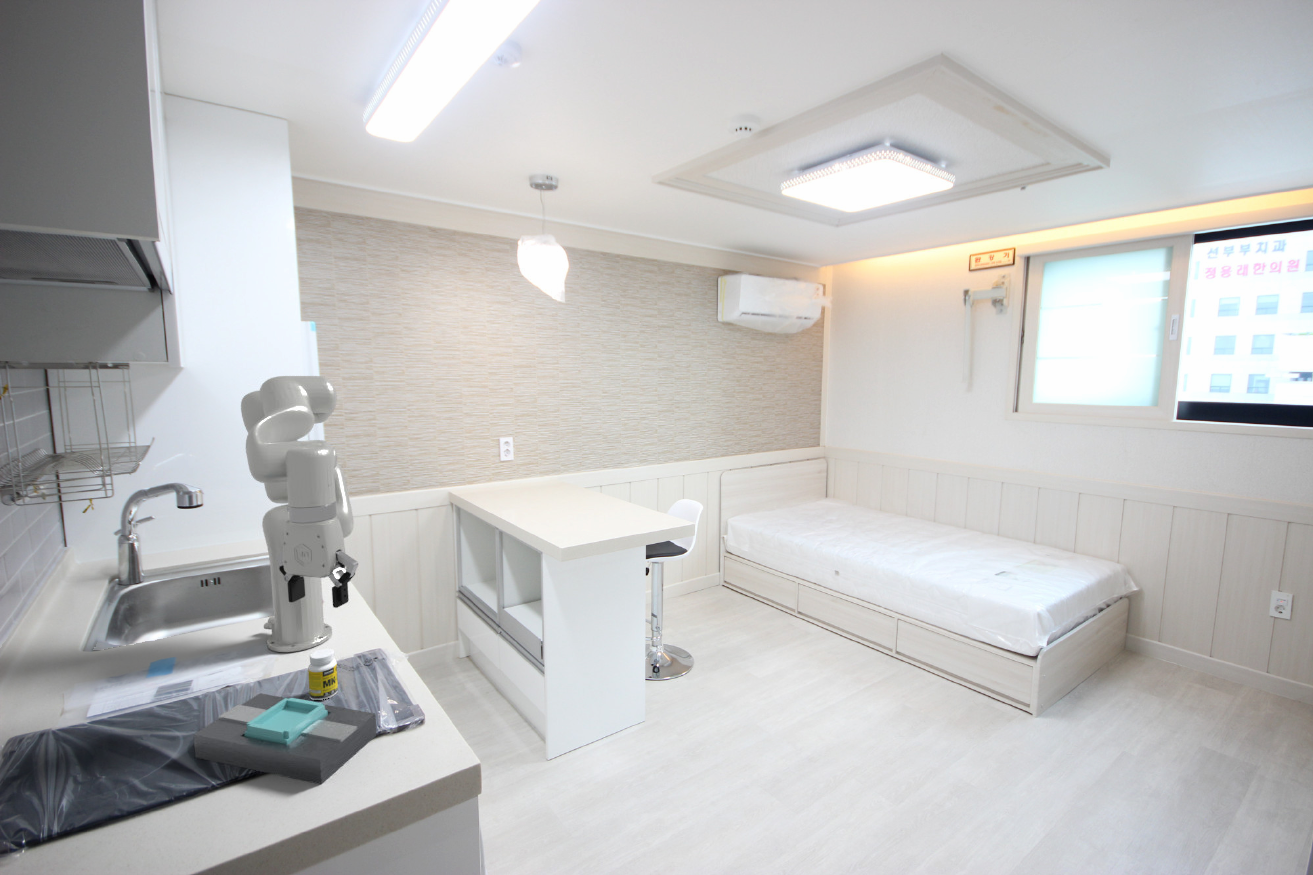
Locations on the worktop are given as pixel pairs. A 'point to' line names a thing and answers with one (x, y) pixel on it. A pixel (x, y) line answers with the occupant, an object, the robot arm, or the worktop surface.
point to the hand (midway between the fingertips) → (318, 602)
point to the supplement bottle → (322, 674)
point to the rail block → (300, 759)
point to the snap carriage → (285, 721)
